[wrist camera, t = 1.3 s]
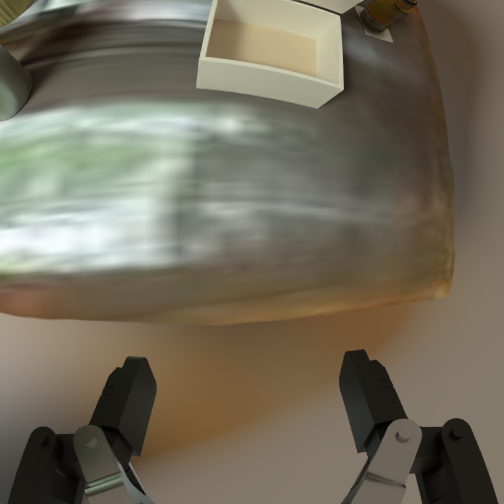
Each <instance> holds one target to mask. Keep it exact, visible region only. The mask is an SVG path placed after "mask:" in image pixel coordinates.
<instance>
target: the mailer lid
mask: <svg viewBox="0 0 504 504" xmlns="http://www.w3.org/2000/svg"><path fill="white" fill-rule="evenodd" d="M301 1H305V2H308V3H311V4H314V5H318V6H321V7H324V8H327V9H329V10H332V11H335V12H338V13H341V14H343V13H344V12H346V11H347V10H349V9H350V8H352V7H353V6H355V5H357V4H358V3H360V2H361V1H363V0H301Z"/></svg>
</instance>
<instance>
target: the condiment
mask: <svg viewBox="0 0 504 504" xmlns="http://www.w3.org/2000/svg"><path fill="white" fill-rule="evenodd" d="M415 5H417V0H373V1H372V2H371V3H370V4H368V6H366V7H365V8H363V7H360V6H357V5H355V9H356V12H357V14H358V17H359V19H360V21H361V24H362V27H363V29H364V31H365V34H366V35H369V36H372V37H375V38H378V39H381V40H385V41H388V42H392V43H393V40H392V38H391V35H390V32H389V30H388V27H389V26H391V25H392V24H393V23H395V22H396V21H397V20H399V19H400V18H402V17H403V16H404V15H406V14H407V13H409V12H410V9H411V8H413V6H415ZM382 32H383V34H382Z"/></svg>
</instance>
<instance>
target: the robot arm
mask: <svg viewBox="0 0 504 504" xmlns="http://www.w3.org/2000/svg"><path fill="white" fill-rule="evenodd" d="M32 84H33V79H32V75H31V74H30V72H29V71H28V70H27V69H26V68H24V67H23V66H22V65H21V64H20V63H19V62H18V61H17V60H16V59H15V58H14V57H13V56H12V55H11V54H10V53H9V52H8V51H7V50H6V49H5V48H4V47H2V46H1V45H0V120H1V121H3V120H7V119H9V118H11V117H12V116H14V115H15V114H16V113H17V112H18V111H19V110H20V109H21V108H22V107H23V105H24V104H25V102H26V101H27V99H28V97H29V95H30V92H31V89H32ZM389 378H390V377H389V375H388V373H387V371H386V369H385V367H383V365H381V364H380V363H379V362H378V361H377V360H372V361H370V360H369V358H368V356H367V353H366V352H365V350H364V349H361V350H355V351H347V352H345V355H344V359H343V363H342V367H341V371H340V376H339V387H340V391H341V394H342V398H343V401H344V405H345V408H346V412H347V415H348V419H349V423H350V426H351V430H352V434H353V437H354V441H355V445H356V449H357V452H358V453H361V452H367V456H368V459H367V460H366V462H365V464H364V466H363V468H362V470H361V472H360V473H359V475H358V477H357V479H356V481H355V482H354V484H353V486H352V487H351V489H350V491H349V493H348V494H347V496H346V497H345V498H344V500H343V501H342V503H341V504H400V503H401V501H402V499H403V497H404V494H405V491H406V486H405V482H406V479H407V477H408V474H411V473H413V474H414V473H415V475H416V479H417V483H418V487H419V491H420V496H421V500H422V504H498V501H497V498H496V495H495V491H494V488H493V485H492V482H491V479H490V476H489V473H488V470H487V467H486V465H485V462H484V459H483V457H482V454H481V451H480V449H479V446H478V444H477V441H476V439H475V437H474V435H473V432H472V430H471V427H470V426H469V424H468V423H467V422H466V421H464V420H462V419H458V418H454V419H451V420H448V421H447V422H446V423H445V424H444V425H443V427H421V426H419V425H418V424H417V423H416V422H414V421H412V420H409V419H408V418H407V416H406V414H405V411H404V409H403V407H402V405H401V402H400V400H399V397H398V395H397V393H396V391H395V388H393V384H392V382H391V380H390V379H389ZM156 387H157V386H156V381H155V378H154V376H153V373H152V371H151V369H150V366H149V363H148V361H147V359H146V358H145V357H133V356H128V357H127V358H126V360H125V363H124V365H123V367H122V368H120V367H117V368H116V369H115V370H114V371H113V372H112V373H111V374H110V375H109V377H108V379H107V382H106V384H105V387H104V389H103V391H102V395H101V396H100V398H99V401H98V403H97V405H96V408H95V410H94V413H93V415H92V418H91V420H90V423H89V424H88V425H86V426H83V427H81V428H79V429H78V430H77V431H76V432H75V434H55V433H54V432H53V430H51V429H50V428H48V427H38V428H37V429H35V430H34V431H33V432H32V433H31V435H30V437H29V440H28V442H27V445H26V448H25V450H24V453H23V456H22V459H21V461H20V465H19V467H18V470H17V473H16V477H15V480H14V483H13V486H12V490H11V493H10V497H9V501H8V504H81V502H82V498H83V493H84V488H85V483H86V481H87V484H88V488H86V489H85V492H86V496H87V498H88V500H89V503H90V504H155V503H154V502H153V501H152V499H151V498H150V497H149V496H148V494H147V492H146V490H145V489H144V487H143V485H142V483H141V482H140V480H139V478H138V476H137V475H136V473H135V471H134V469H133V467H132V466H131V464H130V462H129V461H130V457H131V455H133V456H139V457H140V455H141V451H142V447H143V443H144V438H145V435H146V430H147V427H148V423H149V419H150V415H151V411H152V407H153V403H154V400H155V396H156V390H157V389H156Z"/></svg>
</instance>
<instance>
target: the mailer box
mask: <svg viewBox="0 0 504 504" xmlns="http://www.w3.org/2000/svg"><path fill="white" fill-rule="evenodd" d="M196 88H203V89H212V90H221V91H229V92H236V93H243V94H250V95H256V96H261V97H267V98H272V99H277V100H282V101H287V102H292V103H296V104H301V105H305V106H309V107H313V108H317V109H318V108H319V107H321V106H322V105H323V104H325V103H326V102H327V101H329V100H330V99H331V98H333V97H334V96H336V95H337V94H338V93H340V92H341V91H343V90H344V84H343V53H342V35H341V21H340V16H339V15H336V14H333V13H330V12H327V11H325V10H322V9H319V8H315V7H312V6H309V5H306V4H302V3H299V2H295V1H291V0H213V3H212V7H211V11H210V15H209V19H208V23H207V27H206V31H205V36H204V40H203V45H202V49H201V54H200V59H199V67H198V76H197V85H196Z"/></svg>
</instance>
